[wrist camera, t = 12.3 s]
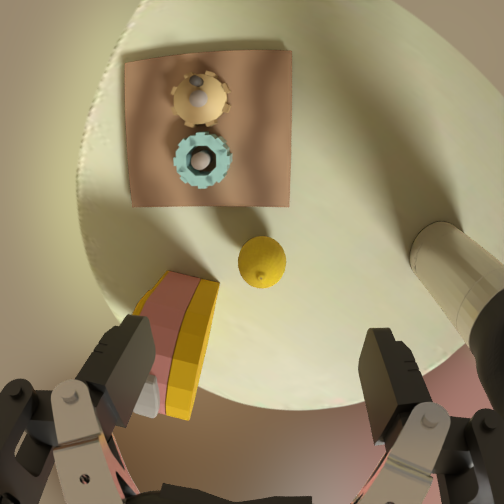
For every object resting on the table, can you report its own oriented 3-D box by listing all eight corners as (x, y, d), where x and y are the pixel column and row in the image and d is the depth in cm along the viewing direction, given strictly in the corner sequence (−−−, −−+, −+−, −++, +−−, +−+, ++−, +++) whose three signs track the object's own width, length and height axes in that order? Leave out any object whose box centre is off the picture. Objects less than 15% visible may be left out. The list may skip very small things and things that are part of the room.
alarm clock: (163, 258, 41) (106, 347, 24) (222, 271, 42) (194, 372, 25) (157, 338, 47) (119, 429, 31) (206, 350, 48) (183, 447, 31)
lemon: (234, 234, 39) (227, 262, 32) (277, 221, 38) (279, 248, 31) (249, 271, 41) (244, 305, 34) (289, 260, 40) (293, 293, 33)
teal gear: (231, 130, 32) (229, 131, 30) (232, 183, 34) (230, 188, 32) (178, 132, 32) (172, 134, 30) (181, 184, 35) (175, 189, 32)
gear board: (290, 54, 30) (295, 41, 24) (288, 202, 37) (292, 219, 31) (131, 65, 30) (107, 58, 25) (138, 202, 38) (116, 219, 32)
